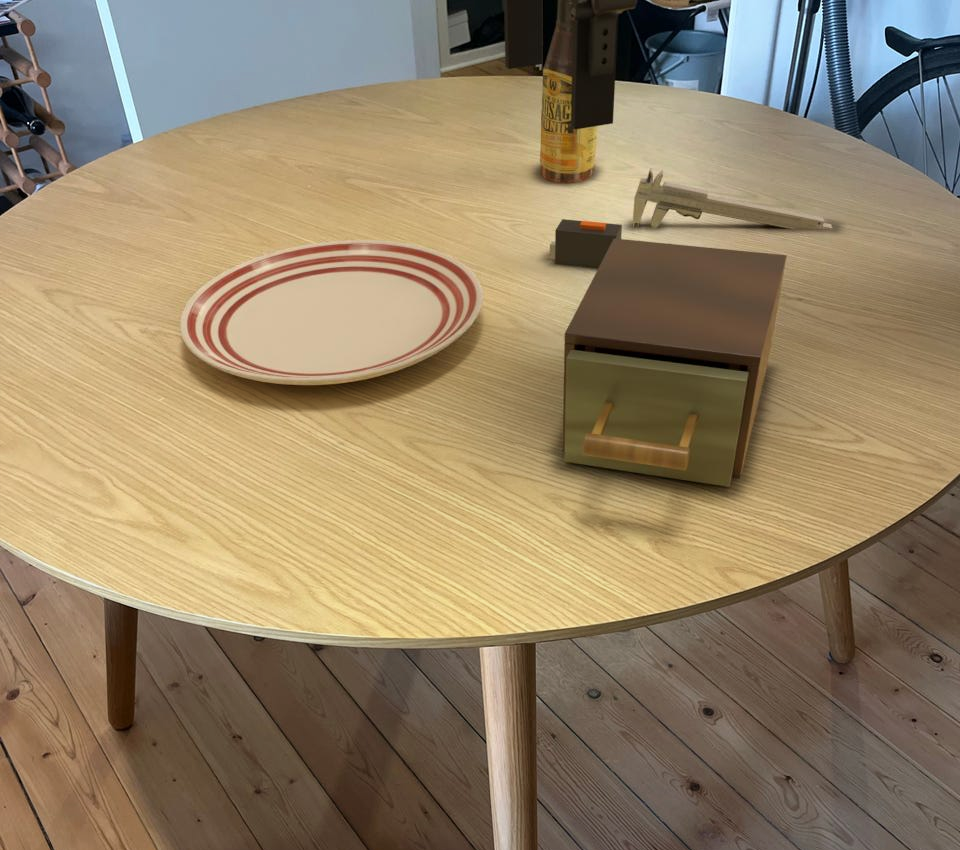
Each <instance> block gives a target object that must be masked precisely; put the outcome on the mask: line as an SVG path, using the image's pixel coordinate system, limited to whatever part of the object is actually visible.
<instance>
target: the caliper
mask: <svg viewBox="0 0 960 850" xmlns="http://www.w3.org/2000/svg"><path fill="white" fill-rule="evenodd" d="M663 177H664V170H663V169H662V170H660V171H659V172H658V173H657V175H656V176H655V178H654V172H653V168H652V167H650V168H649V171H648V174H647V178H645V177H644V178H643V177H641V178H640V181H639V184H638V186H637V189H636V192H635V195H634V199H633V213H632V228H639V226H640V224H641V220H642V217H643V215H644V211H645V208H646V206H647V203H648V202H651V203H656V204H655V206H654V210H653V213H652V216H651V219H650V228H651V229H652V228H653V229H657V228H658V227H659V225H660V224H661V222H662V221H663V219H664V218H665V216H666V215H667V213H668V212H669V210H671V211H672V210H673V211H675V212H676V213H677V214H679V215H681V216H682V217H691V218H693V219H695V220H700V219H701V216H702V213H705V214H709V215H710V214H711V215H716V216H720V217H726V218H730V219H731V218H732V219H737V220H742V221H747V222H752V223H757V224H761V225H767V226H771V227H776V228H782V229H785V230H833V226H832V224H831V223H827V222H825V220H824V216H823V217H822V216H818V215H812V214H808V213H802V212H798V211H793V210H788V209H783V208H777V207H773V206H767V205H763V204H757V203H752V202H747V201H743V200H736V199H731V198H726V197H722V196H717V195H716V196H715V195H710V194H708V190H707V189H703V188H698V187H693V186H690V185H689V186H688V185H684V184H679V183H675V182H671V181H670V182H669V181H664V182H663V184H662V185H661V182H662V180H663Z"/></svg>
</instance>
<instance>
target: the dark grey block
mask: <svg viewBox="0 0 960 850" xmlns="http://www.w3.org/2000/svg"><path fill="white" fill-rule="evenodd" d="M557 225H558V226H557V227H556V228H555V235H554V236H555V238H554V240H552V241H551V242H550V243H549V260H552V261H553V260H554V264H555V265H560V266H570V267H577V268H578V267H579V268H587V269H588V268H589V269H590V268H591V269H597V270H598V268H599V266H600V264H601V262H602V261H603V259H604V257H605V255H606V253H607V251H608V249H609V247H610V245H611V243H612V241H613V239H614V238H615V239H622V233H623V225H622V224H621V223H620V224H619V223H608V222H599V221H588V220H576V219H575V220H574V219H564V218H563V219H561V221H560V222H559V224H557Z"/></svg>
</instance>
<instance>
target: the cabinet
mask: <svg viewBox="0 0 960 850" xmlns="http://www.w3.org/2000/svg"><path fill="white" fill-rule="evenodd" d="M787 257H788V256H787V255H786V254H780V253H779V254H778V253H769V252H768V253H767V252H759V251H757V252H756V251H748V250H737V249H727V248H717V247H707V246H695V245H687V244H676V243H666V242H655V241H644V240H634V239H623V238H621V239H615V238H614V239H613V241H612V243H611V245H610V247H609V249H608V251H607V253H606V255H605V257H604V259H603V261H602V262H601V264H600V266H599V268H598V269H597V271H596V272H595V274H594V276H593V277H592V280H591V282H590V284H589V286H588V288H587V290H586V291H585V294H584V295H583V297H582V299H581V301H580V303H579V305H578V307H577V309H576V310H575V312H574V315H573V317H572V319H571V320H570V322H569V323H568V326H567V328H566V329H565V332H564V341H563V342H564V346H563V347H564V348H563V351H564V352H563V401H562V402H563V403H562V405H563V406H562V409H563V410H562V452H563V453H565V408H566V358H567V356H568V354H569V352H570V350H578V351H585V346H593V347H601V348H609V349H617V350H625V351H633V352H641V353H649V354H657V355H665V356H673V357H681V358H689V359H697V360H705V361H713V362H721V363H729V364H737V365H745V366H747V371H746V372H749V375H748V381H747V387H746V393H745V399H744V405H743V411H742V417H741V423H740V429H739V435H738V442H737V448H736V454H735V460H734V466H733V472H732V478H734V479H741V477H742V473H743V470H744V465H745V460H746V457H747V452H748V448H749V444H750V439H751V435H752V431H753V427H754V424H755V420H756V415H757V411H758V407H759V403H760V399H761V394H762V391H763V386H764V381H765V378H766V374H767V370H768V369H767V368H768V364H769V359H770V358H769V357H770V353H771V346H772V342H773V335H774V329H775V323H776V319H777V312H778V308H779V303H780V297H781V296H780V295H781V291H782V284H783V279H784V274H785V268H786V263H787Z"/></svg>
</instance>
